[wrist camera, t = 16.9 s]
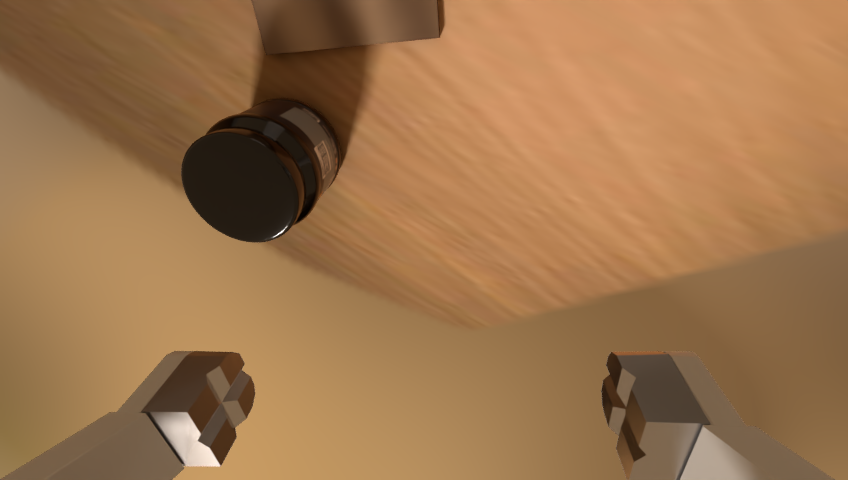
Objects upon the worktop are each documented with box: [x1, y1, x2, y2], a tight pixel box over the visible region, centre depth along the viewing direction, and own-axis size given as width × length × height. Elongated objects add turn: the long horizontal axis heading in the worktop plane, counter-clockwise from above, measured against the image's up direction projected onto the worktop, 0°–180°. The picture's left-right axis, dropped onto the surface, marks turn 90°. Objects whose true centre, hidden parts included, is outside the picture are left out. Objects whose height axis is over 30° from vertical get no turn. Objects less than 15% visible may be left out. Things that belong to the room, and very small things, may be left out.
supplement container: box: [181, 98, 341, 242], centre depth 36 cm, size 10×10×12 cm
